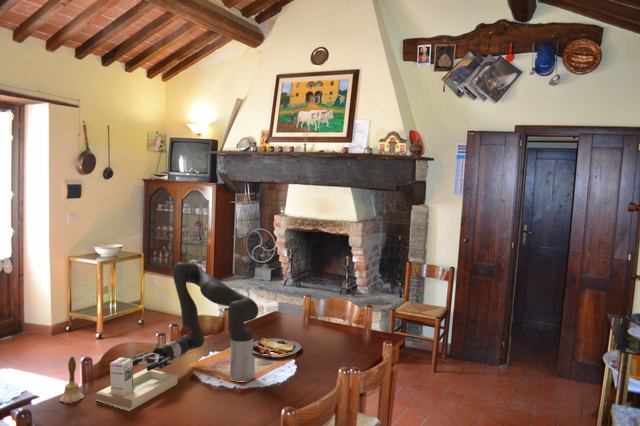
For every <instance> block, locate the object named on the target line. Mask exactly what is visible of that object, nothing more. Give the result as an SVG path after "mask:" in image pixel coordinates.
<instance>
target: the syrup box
mask: <svg viewBox="0 0 640 426" xmlns="http://www.w3.org/2000/svg"><path fill="white" fill-rule="evenodd" d="M133 360H134V359H133V358H129V357H118V358H117V359H115V360H114V361H111V362H110V363H109V367H110V368H109V369H110V372H109V373H110V375H109V376H110V378H109V379H110V386H111V395H115V396H119V397H125V396H127V395H129V394H131V393H133V375H134V371H133V370H134V369H133V368H134V366H133Z"/></svg>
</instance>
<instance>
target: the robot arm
mask: <svg viewBox="0 0 640 426" xmlns="http://www.w3.org/2000/svg"><path fill="white" fill-rule="evenodd" d="M172 278H173V282H174V286H175V288H176V289H175V290H176V293H177V297H178V300H179V304H180V311H181V320H182V322H181V324H182V327H183V328H184V329H189V330H190V333H186V334H184V335H182V336H180V337H178V338H177V339H175V340H172V341H170V342H167V343H163V344H162V345H160V346H158V347H156V348H155V349H154V350H153V352H150V353H147V352H146V351H144V352H141V353H139V354H137V355H134V356H133V359H132V360H133V367H136V366H138V365H146V368H147V371H150V370H155V369H158V368H159V369H164V368H165V367H167V366H170V365H171V362H173V361H176V359H178V358H180V357H181V356H183V355H185V354H186V353H188V352H189V351H191V350H195V349H199V348H201V347H202V346H204V343H205V335H204V332H203V329H202V327H201V324H200V322H199V314H198V308H197V304H196V303H195V301H194V299H193V297H192V296H191V294H190V292H189V291H188V287H187V283H189V284H194V285H195V286H198V287H199V290H200V293H201V296H203V297H204V298H206V299H207V300H208V301H210V302H212V303H213V304H216V305H220V306H226V307H228V311H227V312H228V313H227V314H228V332H229V335H230V336H229V337H230V341H229V343H230V345H229V346H230V348H229V349H230V350H229V351H230V354H229V355H230V362H229V363H230V368H229V371H230V372H229V374H230V375H229V378H230V377H231V378H232V380H235V381H238V382H239V381H245V382H246V384H248V383H249V382H251V381H252V380H253V379H254V378H253V377H254V376H255V371H256V370H255V368H256V365H255V364H256V356H255V355H254V353H253V342H254V332H253V330H252V329H250V328H248V327H247V328H246V327H245V323H247V322H250V321H252V320H254V319H256V318H257V317H258V315H259V307H258V305H257V303H256V302H255V301H254V300H253V299H252V298H250V297H248V296H246V295H243V294H242V293H239V292H237V291H235V290H234V289H232V288H231V287H229V286H228V285H226V284H225V283H223V282H222V281H221V280H219V279H218V278H215V277H214V276H212V275H211V274H209V273H208V272H205V271H204V270H203V269H202V268H201V267H200V266H199V265H197V264H196V263H193V262H182V261H181V262H180V261H179V262H177V263H175V265H174V266H173V269H172ZM252 378H253V379H252ZM251 379H252V380H251Z"/></svg>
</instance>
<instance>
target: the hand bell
mask: <svg viewBox="0 0 640 426" xmlns="http://www.w3.org/2000/svg"><path fill="white" fill-rule="evenodd" d="M67 366H68V372H69V382H68V383H66V385H65V386H64V392H63V394H62V396H61V397H60V398H59V402H60V401H62V402H74V401H77V400H80V399H82V398H83V397H84V398H85V395H84V394H83V393H82V392H81V390H80V386H79V383H78V382H75V380H76V379H75V371H76V368H77V367H76V366H77V363H76V360H75V357H74V356H70V358H69V361H68V364H67ZM84 398H83V399H84ZM83 399H82V400H83Z"/></svg>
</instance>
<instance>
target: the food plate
mask: <svg viewBox="0 0 640 426" xmlns="http://www.w3.org/2000/svg"><path fill="white" fill-rule="evenodd" d="M259 346H262V347H259ZM273 348H275V349H279V350H274V349H273ZM301 349H302V346H301V345H300V343H298V342H296V341H294V340H291V339H286V338H275V337H274V338H266V337H261V338H260V340H259V339H258V340H255V341H253V354H255V355H259V356H261V357H263V358H284V357H287V356H291V355H294V354H296V353H297V352H298V351H300V350H301ZM270 352H274V353H278V355H276V356H274V355H270V356H269V355H263V354H270ZM284 353H288V354H286V355H280V354H284Z"/></svg>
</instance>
